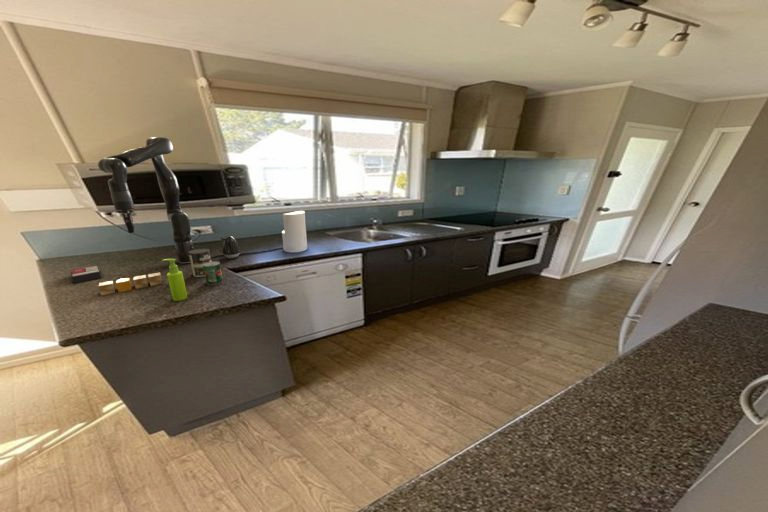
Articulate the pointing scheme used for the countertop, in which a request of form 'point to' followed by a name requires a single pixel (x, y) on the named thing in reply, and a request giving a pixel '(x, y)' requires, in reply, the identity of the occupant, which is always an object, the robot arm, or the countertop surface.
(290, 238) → the cylinder
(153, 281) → the maple block
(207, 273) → the canned tomato
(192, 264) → the coffee can
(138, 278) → the maple block middle
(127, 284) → the mustard block
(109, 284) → the maple block
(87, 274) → the red and grey box
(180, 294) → the soap dispenser
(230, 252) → the dark ribbed dome
